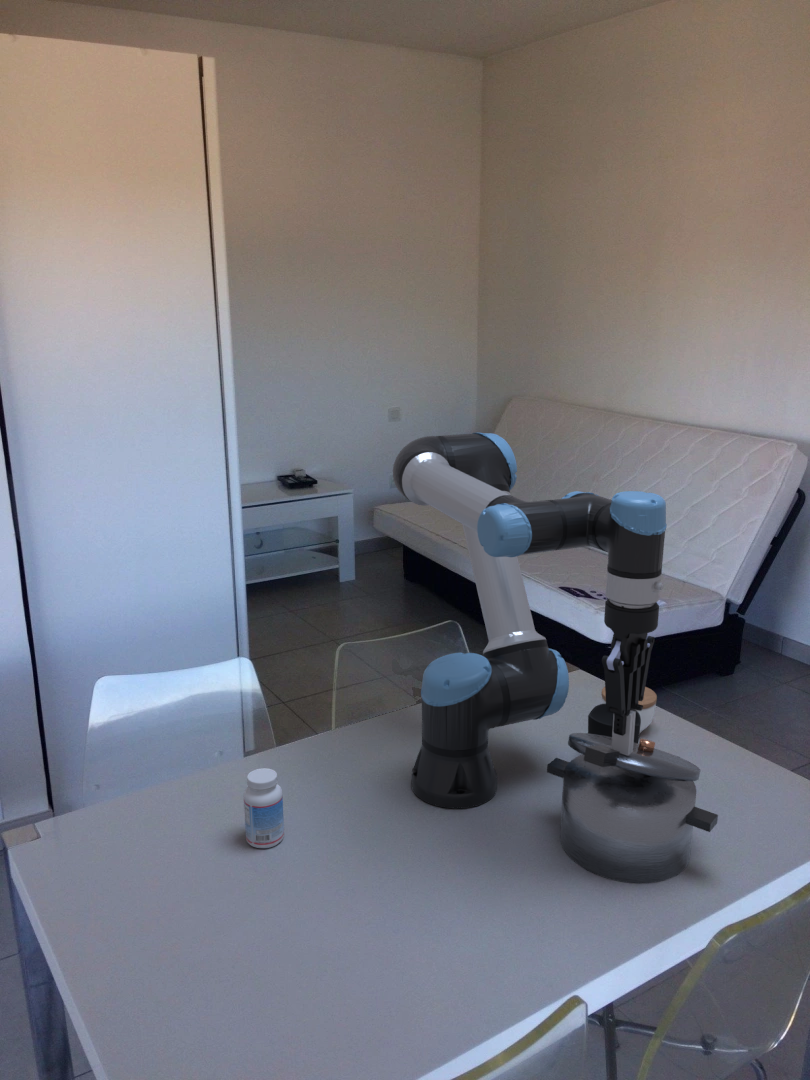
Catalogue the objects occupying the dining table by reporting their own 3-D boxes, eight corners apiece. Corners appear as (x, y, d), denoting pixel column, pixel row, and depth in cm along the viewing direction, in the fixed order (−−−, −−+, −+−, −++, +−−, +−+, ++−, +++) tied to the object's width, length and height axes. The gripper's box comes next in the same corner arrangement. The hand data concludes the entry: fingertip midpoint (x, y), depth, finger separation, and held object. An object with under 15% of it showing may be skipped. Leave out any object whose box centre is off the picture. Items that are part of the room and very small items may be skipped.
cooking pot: (517, 840, 140) (520, 778, 137) (577, 788, 155) (581, 732, 152) (682, 911, 123) (688, 842, 120) (731, 846, 138) (738, 783, 136)
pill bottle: (291, 833, 141) (289, 770, 139) (270, 853, 136) (267, 788, 133) (259, 824, 144) (257, 762, 141) (238, 844, 139) (234, 780, 136)
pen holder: (647, 770, 161) (651, 720, 158) (604, 780, 158) (608, 730, 155) (617, 747, 169) (620, 700, 167) (575, 756, 166) (578, 708, 163)
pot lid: (531, 743, 130) (535, 725, 130) (599, 738, 150) (603, 722, 150) (660, 788, 118) (664, 768, 118) (716, 776, 138) (719, 758, 138)
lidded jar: (655, 743, 171) (659, 699, 169) (599, 738, 173) (602, 694, 171) (652, 719, 181) (655, 677, 179) (599, 714, 183) (601, 672, 181)
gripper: (637, 617, 118) (626, 776, 124) (675, 594, 128) (663, 742, 134) (586, 606, 123) (578, 759, 129) (627, 585, 133) (618, 728, 139)
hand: (622, 750), depth 131 cm, fingers closed
